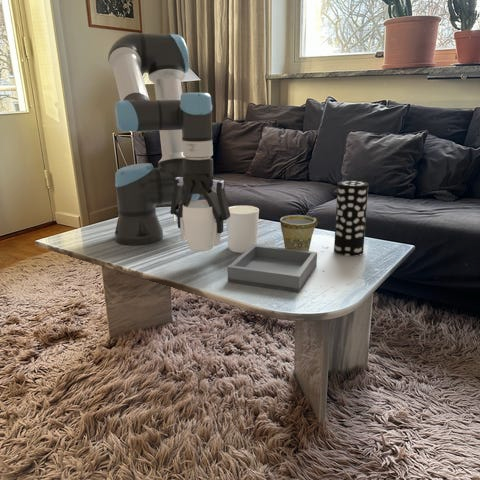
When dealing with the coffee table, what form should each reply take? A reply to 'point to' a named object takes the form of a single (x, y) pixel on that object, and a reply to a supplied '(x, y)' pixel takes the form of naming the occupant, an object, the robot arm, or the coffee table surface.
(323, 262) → the coffee table surface
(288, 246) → the ceramic cup
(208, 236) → the cup
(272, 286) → the tray
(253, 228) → the candle holder
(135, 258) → the coffee table surface
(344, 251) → the spotted tube
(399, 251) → the coffee table surface
